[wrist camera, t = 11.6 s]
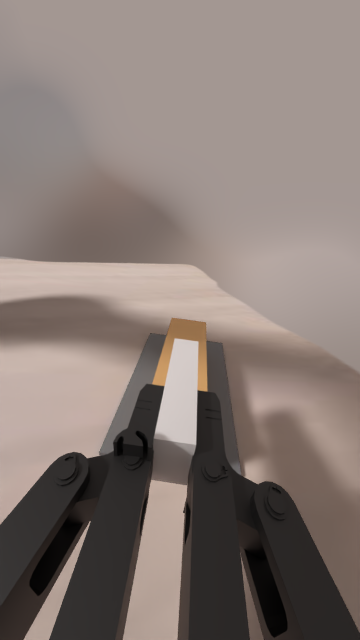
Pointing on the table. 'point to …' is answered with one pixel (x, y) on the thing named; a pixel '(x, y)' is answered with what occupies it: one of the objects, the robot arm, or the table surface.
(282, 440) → the table surface
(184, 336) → the tall block
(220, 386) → the mat
